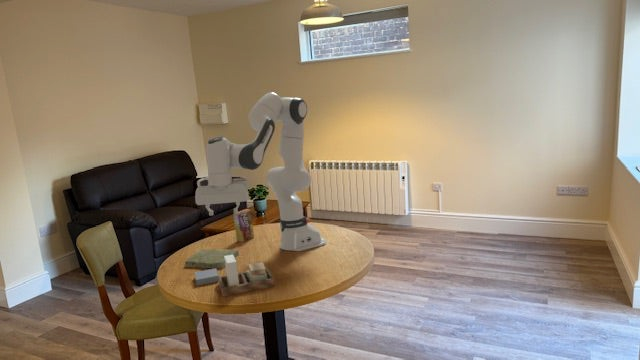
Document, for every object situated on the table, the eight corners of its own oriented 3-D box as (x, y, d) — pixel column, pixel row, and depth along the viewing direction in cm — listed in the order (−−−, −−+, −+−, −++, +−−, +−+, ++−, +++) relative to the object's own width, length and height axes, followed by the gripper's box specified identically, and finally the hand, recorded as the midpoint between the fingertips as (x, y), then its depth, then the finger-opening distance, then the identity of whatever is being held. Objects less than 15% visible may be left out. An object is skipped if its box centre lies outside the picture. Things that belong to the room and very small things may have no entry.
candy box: (249, 236, 245) (246, 208, 242) (254, 237, 242) (251, 209, 240) (236, 241, 239) (232, 212, 236) (241, 242, 236) (238, 213, 233)
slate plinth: (216, 273, 195) (216, 268, 194) (219, 281, 186) (218, 275, 186) (195, 277, 192) (194, 272, 192) (196, 285, 184) (195, 279, 183)
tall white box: (236, 282, 184) (232, 254, 181) (239, 291, 175) (236, 261, 173) (227, 284, 182) (224, 256, 180) (230, 293, 174) (227, 263, 172)
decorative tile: (201, 255, 222) (200, 248, 222) (239, 255, 218) (238, 247, 217) (182, 269, 204) (180, 262, 204) (223, 270, 200) (222, 262, 199)
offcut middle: (261, 273, 186) (261, 267, 186) (267, 279, 179) (266, 273, 179) (247, 276, 184) (246, 270, 184) (252, 283, 177) (251, 277, 176)
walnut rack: (267, 274, 189) (266, 266, 189) (274, 285, 177) (273, 277, 177) (218, 284, 183) (217, 276, 183) (222, 296, 171) (221, 288, 171)
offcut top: (263, 267, 186) (262, 262, 185) (266, 274, 178) (265, 268, 178) (249, 270, 184) (248, 264, 184) (251, 276, 177) (251, 271, 176)
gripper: (247, 176, 181) (250, 210, 184) (195, 180, 179) (198, 214, 181) (247, 178, 175) (250, 213, 177) (192, 182, 173) (196, 218, 175)
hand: (223, 214), depth 179 cm, fingers open, 8 cm apart
